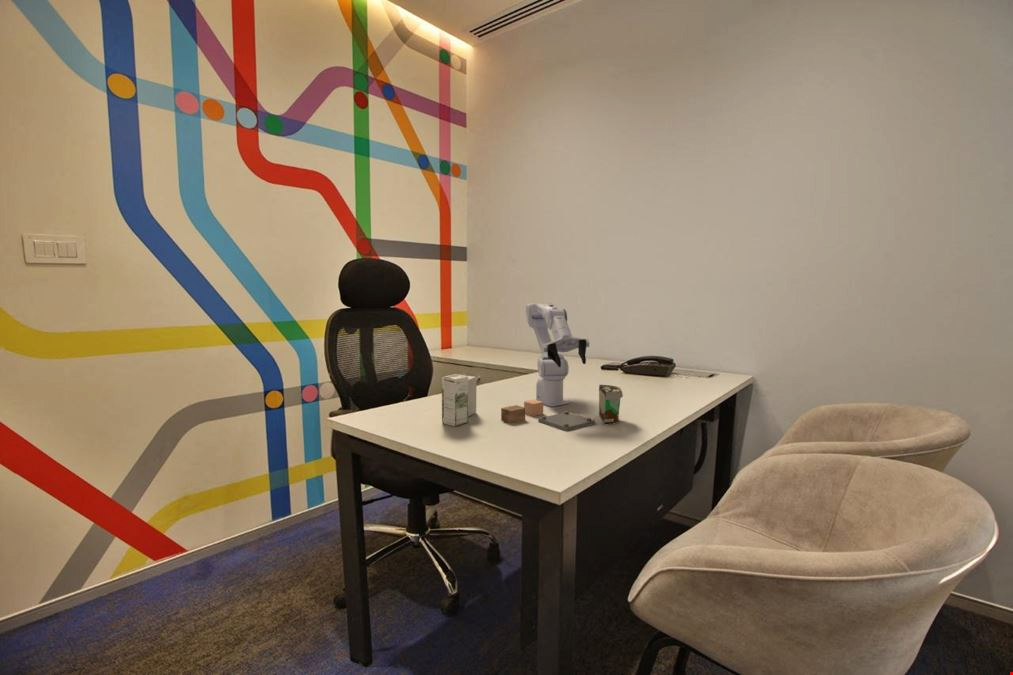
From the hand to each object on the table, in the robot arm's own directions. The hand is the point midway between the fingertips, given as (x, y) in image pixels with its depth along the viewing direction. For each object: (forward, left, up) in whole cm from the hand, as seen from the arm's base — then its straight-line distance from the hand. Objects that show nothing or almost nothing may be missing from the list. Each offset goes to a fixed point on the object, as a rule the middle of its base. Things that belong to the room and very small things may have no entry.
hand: (572, 363), depth 147 cm
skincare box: (-26, -21, -18) cm, 38 cm away
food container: (+7, +11, -18) cm, 22 cm away
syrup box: (-20, -29, -18) cm, 40 cm away
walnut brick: (-12, -13, -18) cm, 25 cm away
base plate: (0, -2, -18) cm, 18 cm away
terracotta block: (-14, -3, -18) cm, 23 cm away
